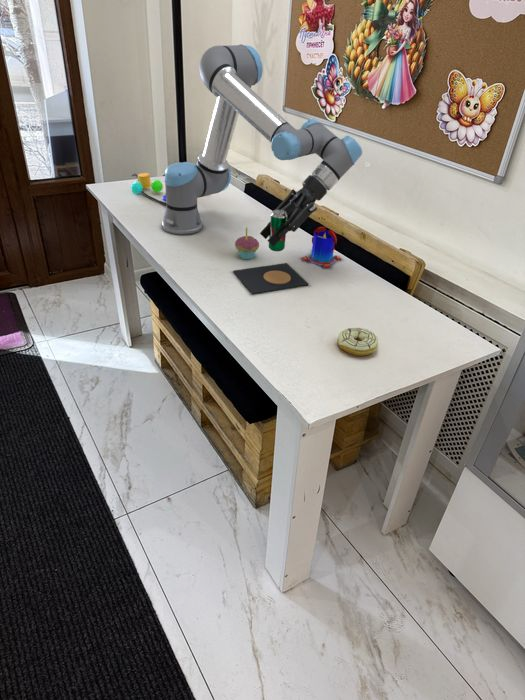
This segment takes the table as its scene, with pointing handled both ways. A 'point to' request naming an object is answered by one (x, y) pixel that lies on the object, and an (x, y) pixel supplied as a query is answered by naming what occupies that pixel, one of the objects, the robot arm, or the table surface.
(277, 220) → the soda can
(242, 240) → the cupcake
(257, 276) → the mat
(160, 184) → the shape set
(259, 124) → the robot arm
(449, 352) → the table surface
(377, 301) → the table surface
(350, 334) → the decorated donut
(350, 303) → the table surface
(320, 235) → the fantasy tower
